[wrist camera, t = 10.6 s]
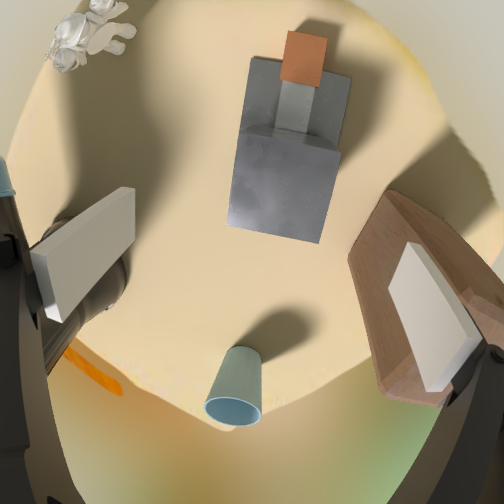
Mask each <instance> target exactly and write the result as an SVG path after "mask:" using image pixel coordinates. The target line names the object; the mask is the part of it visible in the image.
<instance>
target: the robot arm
mask: <svg viewBox="0 0 504 504" xmlns="http://www.w3.org/2000/svg"><path fill="white" fill-rule="evenodd" d="M14 195H16V193H15V190H14V189H13V188H12V184H11V181H10V177H9V173H8V169H7V165H6V162H5V160H4V159H3V157H1V156H0V504H85V502H84V500H83V498H82V497H81V495H80V494H79V492H78V491H77V489H76V487H75V486H74V483H73V481H72V479H71V475H70V473H69V469H68V467H67V463H66V460H65V457H64V454H63V450H62V447H61V443H60V440H59V436H58V432H57V428H56V424H55V419H54V415H53V411H52V406H51V401H50V396H49V390H48V384H47V377H48V375H49V374H50V372H51V371H52V369H53V368H54V366H55V365H56V363H57V361H58V360H59V359H60V357H61V356H62V354H63V353H64V351H65V350H66V348H67V347H68V346H69V344H70V343H71V341H72V340H73V338H74V337H75V336H76V334H77V333H78V331H79V330H80V329H81V327H82V326H83V325H84V324H85V323H86V322H88V321H89V320H91V319H92V318H94V317H95V316H96V315H98V314H99V313H103V312H105V311H107V310H109V309H110V308H111V307H112V306H113V305H114V304H115V303H116V302H117V300H118V299H119V298H120V296H121V295H122V293H123V291H124V288H125V280H126V278H125V270H124V265H123V262H122V260H121V257H120V256H121V255H122V254H123V253H124V252H125V250H126V249H127V248H128V247H129V246H130V245H131V244H132V243H133V242H134V241H135V240H136V238H135V188H129V187H120V188H118V189H117V190H115V191H114V192H112V193H111V194H109V195H107V196H106V197H104V198H103V199H101V200H100V201H98V202H97V203H95V204H94V205H92V206H91V207H89V208H88V209H86V210H85V211H83V212H82V213H81V214H79V215H78V216H76V217H67V218H63V219H61V220H59V221H58V222H56V223H55V224H53V225H52V226H50V227H49V228H48V229H47V230H46V231H45V233H44V234H43V236H42V238H41V240H40V241H38V242H37V243H36V244H35V245H33V246H32V247H31V248H29V245H28V242H27V239H26V236H25V233H24V230H23V227H22V223H21V220H20V216H19V213H18V209H17V206H16V202H15V198H14ZM388 290H389V292H390V295H391V297H392V299H393V302H394V304H395V307H396V309H397V312H398V314H399V317H400V319H401V322H402V324H403V327H404V329H405V332H406V335H407V337H408V340H409V343H410V345H411V348H412V351H413V354H414V357H415V359H416V362H417V365H418V368H419V371H420V374H421V377H422V380H423V383H424V386H425V390H426V392H442V391H443V390H444V388H445V387H446V386H447V385H448V384H449V382H450V381H451V383H452V386H453V389H452V391H451V392H450V393H449V394H448V395H447V396H446V397H445V399H444V400H443V401H442V402H441V403H440V404H439V405H438V406H437V408H440V407H441V406H442V405H443V407H442V410H441V412H440V414H439V416H438V418H437V420H436V422H435V424H434V427H433V428H432V430H431V432H430V434H429V436H428V438H427V440H426V442H425V444H424V445H423V447H422V449H421V451H420V453H419V454H418V456H417V458H416V460H415V461H414V463H413V465H412V466H411V468H410V470H409V471H408V473H407V474H406V476H405V478H404V479H403V481H402V482H401V484H400V485H399V487H398V488H397V490H396V491H395V493H394V494H393V496H392V497H391V498H390V500H389V501H388V503H387V504H504V350H503V349H501V348H500V347H499V346H497V345H495V344H488V343H487V341H486V339H485V337H484V336H483V334H482V332H481V331H480V329H479V327H478V325H477V324H476V322H475V321H474V319H473V318H472V316H471V314H470V312H469V311H468V309H467V308H466V307H465V306H464V305H463V304H462V303H461V302H460V300H459V299H458V297H457V296H456V294H455V292H454V291H453V289H452V288H451V286H450V285H449V284H448V282H447V281H446V279H445V278H444V276H443V275H442V273H441V272H440V271H439V269H438V268H437V266H436V265H435V264H434V262H433V261H432V259H431V258H430V257H429V255H428V254H427V253H426V251H425V250H424V249H423V247H422V246H421V245H420V244H416V243H412V242H407V244H406V247H405V249H404V252H403V254H402V257H401V259H400V262H399V264H398V267H397V269H396V271H395V274H394V276H393V278H392V281H391V283H390V285H389V287H388Z"/></svg>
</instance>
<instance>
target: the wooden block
mask: <svg viewBox="0 0 504 504" xmlns="http://www.w3.org/2000/svg"><path fill="white" fill-rule="evenodd" d="M407 242H412V243H416V244H420V245H421V246H422V247H423V249H424V250H425V251H426V253H427V254H428V255H429V257H430V258H431V259H432V261H433V262H434V264H435V265H436V266H437V268H438V269H439V271H440V272H441V273H442V275H443V276H444V278H445V279H446V281H447V282H448V284H449V285H450V286H451V288H452V289H453V291H454V292H455V294H456V296H457V297H458V299H459V300H460V302H461V303H462V304H463V305H464V306H465V307H466V308H467V309H468V311H469V312H470V314H471V316H472V318H473V319H474V321H475V322H476V324H477V325H478V327H479V329H480V331H481V332H482V334H483V336H484V337H485V339H486V341H487V343H488V344H495V345H497V346H499V347H500V348H501V349H503V350H504V284H503V282H502V281H501V280H500V279H499V278H498V276H497V275H496V274H495V273H494V272H493V271H492V269H491V268H490V267H489V266H488V265H487V264H486V263H485V261H484V260H483V259H482V258H481V257H480V256H479V255H478V254H477V253H476V252H475V250H474V249H473V248H472V247H471V246H470V245H469V244H468V243H467V242H466V241H465V240H464V239H463V238H462V237H461V236H460V235H459V234H458V233H457V232H456V231H455V230H454V229H453V228H452V227H451V226H450V225H449V224H448V223H447V222H446V221H444V220H443V219H441V218H440V217H438V216H437V215H435V214H433V213H432V212H430V211H429V210H427V209H426V208H424V207H422V206H421V205H419V204H417V203H416V202H414V201H412V200H411V199H409V198H407V197H406V196H404V195H402V194H401V193H399V192H397V191H395V190H387V191H386V192H385V193H384V194H383V196H382V197H381V199H380V201H379V203H378V205H377V206H376V208H375V210H374V212H373V214H372V215H371V217H370V219H369V221H368V222H367V224H366V226H365V227H364V229H363V231H362V233H361V234H360V236H359V238H358V239H357V241H356V243H355V244H354V246H353V248H352V249H351V251H350V253H349V254H348V264H349V267H350V271H351V274H352V278H353V281H354V285H355V289H356V292H357V296H358V300H359V304H360V308H361V312H362V316H363V320H364V324H365V328H366V332H367V336H368V341H369V345H370V350H371V354H372V358H373V363H374V368H375V373H376V378H377V383H378V389H379V390H380V392H381V393H382V394H383V395H384V396H385V397H387V398H389V399H394V400H399V401H404V402H409V403H414V404H419V405H425V406H431V407H437V406H438V405H439V404H440V403H441V402H442V401H443V400H444V399H445V397H446V396H447V395H448V394H449V393H450V392H451V391H452V389H453V386H452V383H451V381H450V382H449V384H448V385H447V386H446V387H445V388H444V390H443V391H442V392H426V390H425V386H424V383H423V380H422V377H421V374H420V371H419V368H418V365H417V362H416V359H415V357H414V354H413V351H412V348H411V345H410V343H409V340H408V337H407V335H406V332H405V329H404V327H403V324H402V322H401V319H400V317H399V314H398V312H397V309H396V307H395V304H394V302H393V299H392V297H391V295H390V292H389V290H388V287H389V285H390V283H391V281H392V278H393V276H394V274H395V271H396V269H397V267H398V264H399V262H400V259H401V257H402V254H403V252H404V249H405V247H406V244H407ZM442 407H443V405H442V406H441V407H440V408H442Z"/></svg>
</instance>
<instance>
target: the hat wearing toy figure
mask: <svg viewBox="0 0 504 504" xmlns="http://www.w3.org/2000/svg"><path fill="white" fill-rule="evenodd" d="M114 1H115V0H90V3H89V8H90V9H91V10H92V11H93V12H86V13H85V14H82V13H71V14H69V15H67V16H66V17H64V18H63V19H62V21H61V22H60V24H59V25H58V26H57V27H56V28H55V31H56V36H55V40H53V41H52V46H51V48H50V50H49V52H48V56H47V55H46V57H45V61H46V60H47V59H48V57H49V59H50V57H51V54H52V56H54V55H55V58H54V61H53V66H54V68H58V70H59V71H60V73H64V72H67V70H68V69H69V68H70V67H71V66H72V65H73V64H74V62H75V61H76V63H77V64H76V66H75V67H74V68H72V69H70V70H73V69H75V68H77V67H78V65H79V64H80V65H85V64H87V62H86V61H87V59H86V56H85V54H86V52H87V51H88V53H89V54H90V55H94V54H96V53H98V52H99V51H101V50H106V51H108V52H110V53H112V54H115V55H121V54H122V53H123V52H124V50H125V44H124V43H122V42H119V41H117V40H111V39H112V37H113V35H119V36H121V37H123V38H125V39H128V40H129V39H132V38H133V37H134V36H135V34H136V32H137V30H136V28H135V27H134V26H133V25H131V24H129V23H123V24H119V23H114V22H109V23H107V21H108V20H109V19H112V18H115V17H117V16H118V15H119V14H121V13H123V12H124V11H125V10H126V9H128V8H129V7H128V5H127V4H126V3H123V2H119V3H117V2H116V1H115V2H116V5H115V6H114V7H112V6H113V3H114ZM111 7H112V8H111ZM87 20H88V21H87ZM56 46H57V48H55V47H56ZM60 47H61V48H60ZM59 48H60V49H59ZM56 49H59V50H58V51H57V52H56V54H55V51H56ZM51 50H52V51H51ZM59 51H60V52H59ZM51 59H52V58H51ZM56 65H57V66H56Z"/></svg>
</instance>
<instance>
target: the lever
mask: <svg viewBox="0 0 504 504" xmlns="http://www.w3.org/2000/svg"><path fill="white" fill-rule="evenodd" d="M327 41H328V38H324V37H319V36H314V35H310V34H304V33H299V32H294V31H288V34H287V40H286V46H285V51H284V57H283V62H282V63H281V62H275V61H269V60H262V59H254V58H251V63H250V69H249V75H248V81H247V87H246V93H245V99H244V105H243V111H242V117H241V124H240V130H239V133H240V132H241V131H243V130H244V129H246V128H248V127H249V126H251V125H253V124H254V125H260V126H266V127H272V128H277V129H282V130H288V131H293V132H297V133H302V134H307V135H311V136H316V137H320V138H325V139H329V140H330V141H331V142H332V143H333V144H334V145H335V146H336V147H337V146H338V141H339V137H340V132H341V128H342V123H343V118H344V114H345V109H346V104H347V99H348V94H349V89H350V84H351V79H352V78H349V77H346V76H342V75H338V74H334V73H330V72H326V71H322V68H323V63H324V57H325V52H326V46H327ZM238 140H239V137H238ZM237 147H238V143H237ZM236 153H237V150H236ZM235 160H236V157H235ZM234 167H235V164H234ZM233 174H234V170H233ZM232 181H233V177H232ZM231 188H232V184H231ZM230 195H231V192H230ZM229 202H230V199H229Z"/></svg>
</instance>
